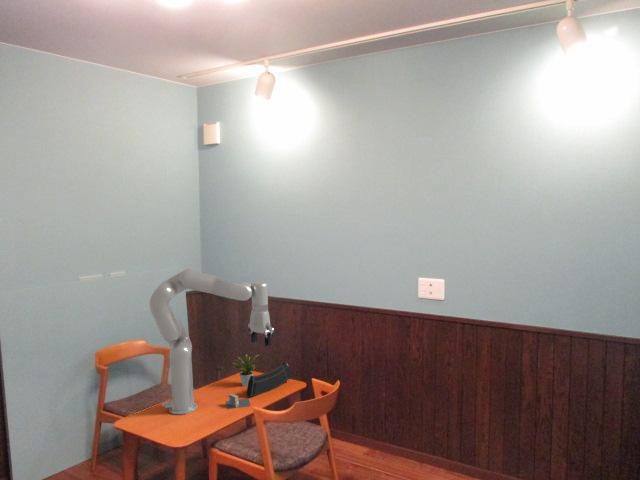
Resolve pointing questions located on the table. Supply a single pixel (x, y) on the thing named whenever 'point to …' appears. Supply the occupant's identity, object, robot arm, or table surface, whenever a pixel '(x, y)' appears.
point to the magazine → (268, 380)
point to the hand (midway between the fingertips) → (261, 343)
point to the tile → (233, 400)
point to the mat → (241, 404)
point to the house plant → (245, 370)
